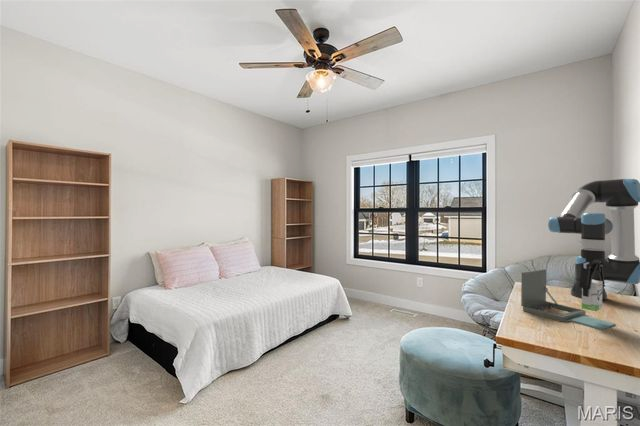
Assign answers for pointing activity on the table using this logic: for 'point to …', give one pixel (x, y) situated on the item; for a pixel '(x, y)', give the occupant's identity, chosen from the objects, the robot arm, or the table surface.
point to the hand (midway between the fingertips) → (592, 302)
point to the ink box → (595, 296)
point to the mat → (592, 322)
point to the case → (542, 297)
